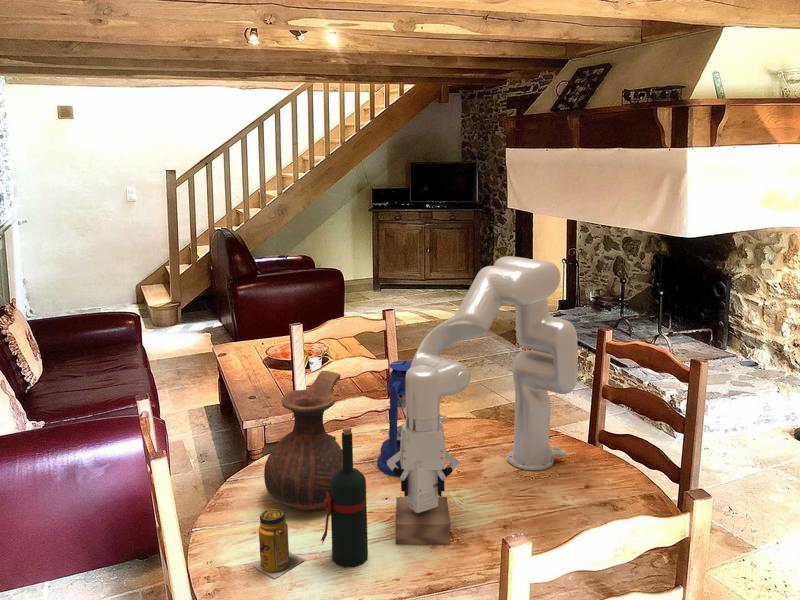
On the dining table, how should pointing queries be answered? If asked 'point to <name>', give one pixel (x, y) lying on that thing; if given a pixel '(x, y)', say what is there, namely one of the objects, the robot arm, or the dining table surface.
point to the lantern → (394, 414)
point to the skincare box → (422, 488)
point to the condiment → (275, 544)
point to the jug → (305, 449)
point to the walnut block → (422, 523)
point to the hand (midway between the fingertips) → (422, 493)
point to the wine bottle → (347, 510)
